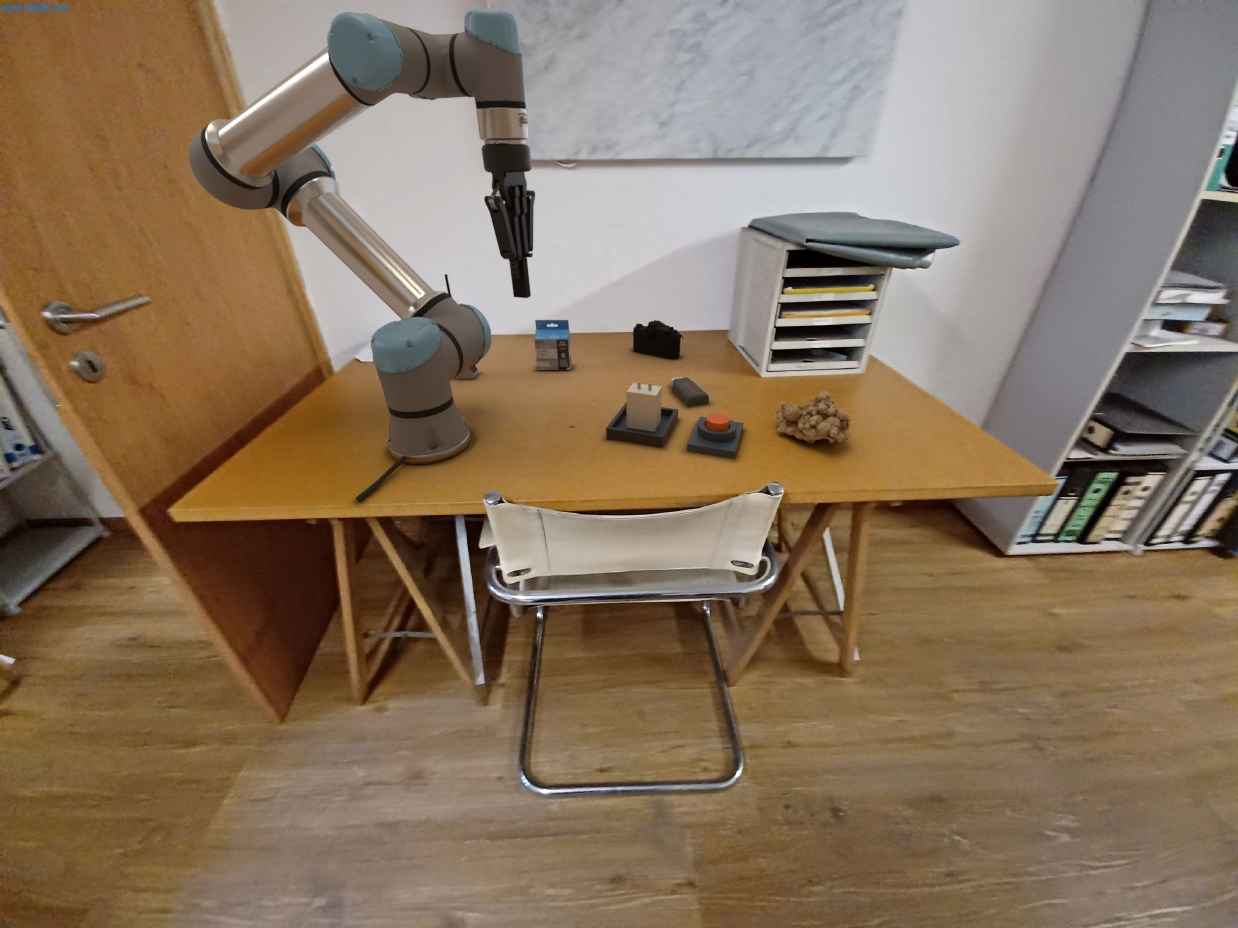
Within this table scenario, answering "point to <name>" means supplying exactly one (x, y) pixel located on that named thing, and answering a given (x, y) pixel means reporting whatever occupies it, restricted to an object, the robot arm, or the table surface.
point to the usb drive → (689, 392)
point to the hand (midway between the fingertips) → (522, 296)
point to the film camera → (657, 340)
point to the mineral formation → (814, 420)
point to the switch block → (715, 439)
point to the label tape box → (552, 345)
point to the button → (717, 422)
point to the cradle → (643, 437)
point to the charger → (644, 406)
